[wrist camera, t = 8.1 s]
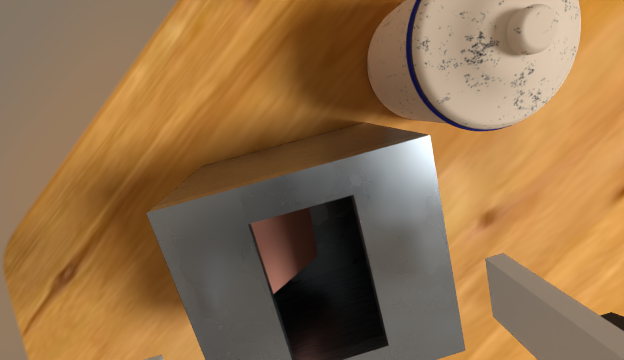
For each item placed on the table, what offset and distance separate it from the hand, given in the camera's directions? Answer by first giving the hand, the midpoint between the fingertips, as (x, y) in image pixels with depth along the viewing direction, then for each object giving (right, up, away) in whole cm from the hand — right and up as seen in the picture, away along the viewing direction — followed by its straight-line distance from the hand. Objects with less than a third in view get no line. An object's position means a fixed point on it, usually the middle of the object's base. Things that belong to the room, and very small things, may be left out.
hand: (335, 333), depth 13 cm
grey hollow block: (-2, +3, +14) cm, 14 cm away
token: (-2, +3, +12) cm, 13 cm away
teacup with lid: (+8, +16, +12) cm, 22 cm away
